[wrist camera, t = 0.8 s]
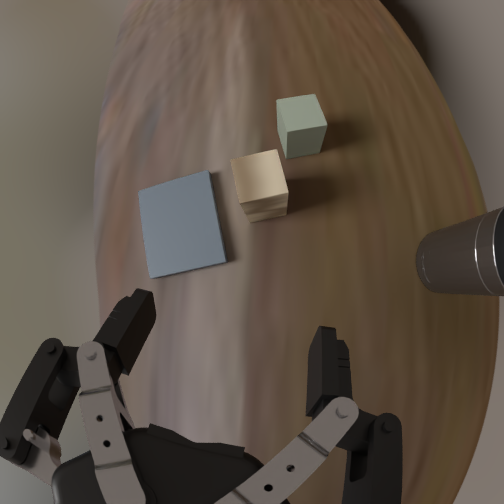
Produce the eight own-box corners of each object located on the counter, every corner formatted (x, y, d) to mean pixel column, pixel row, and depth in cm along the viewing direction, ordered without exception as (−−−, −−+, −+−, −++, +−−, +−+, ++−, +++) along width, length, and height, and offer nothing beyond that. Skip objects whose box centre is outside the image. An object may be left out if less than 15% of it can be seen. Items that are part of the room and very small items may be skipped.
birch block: (277, 181, 38) (276, 149, 28) (286, 214, 37) (288, 192, 27) (242, 189, 38) (230, 159, 28) (249, 223, 38) (239, 203, 28)
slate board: (210, 173, 39) (208, 169, 37) (227, 262, 37) (225, 261, 36) (142, 194, 40) (138, 191, 38) (154, 278, 38) (150, 278, 37)
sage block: (309, 124, 38) (314, 94, 30) (319, 152, 38) (327, 125, 30) (277, 130, 39) (276, 99, 31) (286, 159, 38) (287, 131, 30)
